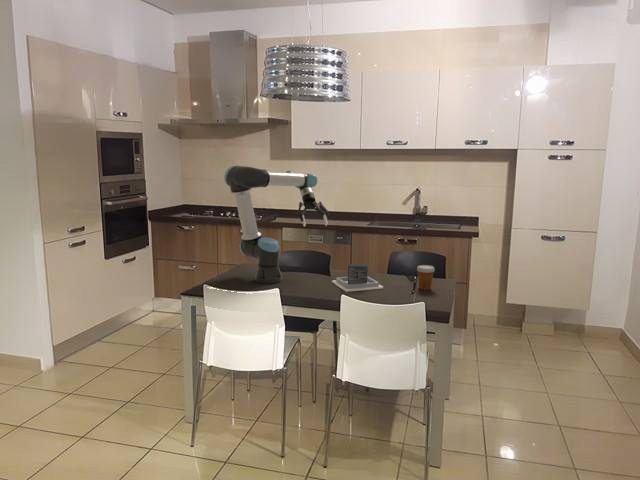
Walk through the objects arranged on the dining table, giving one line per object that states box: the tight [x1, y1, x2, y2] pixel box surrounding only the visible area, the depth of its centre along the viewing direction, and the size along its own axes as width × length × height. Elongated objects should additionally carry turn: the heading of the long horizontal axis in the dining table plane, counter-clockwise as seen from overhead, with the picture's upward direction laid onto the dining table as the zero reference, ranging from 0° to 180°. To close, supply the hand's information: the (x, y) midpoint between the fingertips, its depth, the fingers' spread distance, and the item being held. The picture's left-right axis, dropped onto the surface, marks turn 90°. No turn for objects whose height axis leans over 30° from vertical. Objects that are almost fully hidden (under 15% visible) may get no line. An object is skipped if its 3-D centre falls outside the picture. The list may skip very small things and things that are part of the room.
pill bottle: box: [416, 264, 436, 291], centre depth 276 cm, size 10×10×12 cm
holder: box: [331, 275, 384, 293], centre depth 280 cm, size 22×20×3 cm
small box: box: [347, 263, 369, 284], centre depth 279 cm, size 11×6×10 cm, turn 89°
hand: (315, 225), depth 298 cm, fingers open, 13 cm apart
